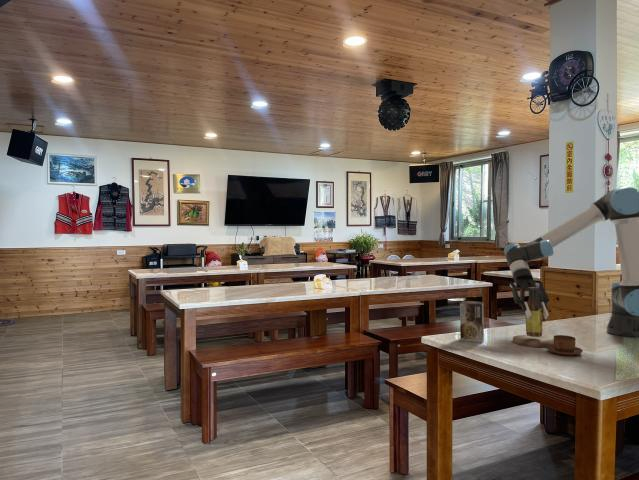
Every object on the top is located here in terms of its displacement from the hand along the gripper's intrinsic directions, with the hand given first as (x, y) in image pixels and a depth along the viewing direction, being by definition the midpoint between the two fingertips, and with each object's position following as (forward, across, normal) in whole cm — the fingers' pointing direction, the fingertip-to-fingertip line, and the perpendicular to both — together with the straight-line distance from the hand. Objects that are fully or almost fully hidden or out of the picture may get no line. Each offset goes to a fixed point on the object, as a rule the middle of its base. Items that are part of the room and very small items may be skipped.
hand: (538, 316), depth 189 cm
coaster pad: (+6, 0, -10) cm, 12 cm away
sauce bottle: (+4, 0, -9) cm, 9 cm away
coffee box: (+3, +24, -14) cm, 28 cm away
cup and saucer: (+17, -4, +1) cm, 18 cm away
